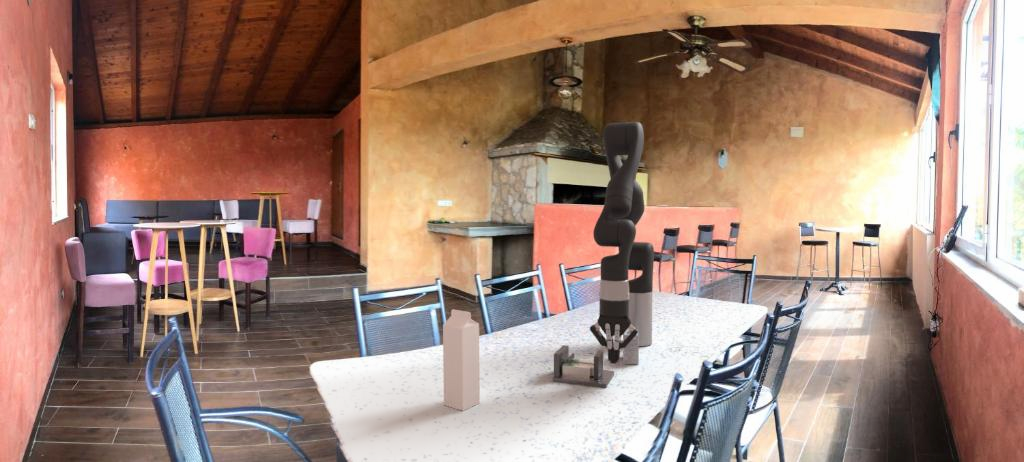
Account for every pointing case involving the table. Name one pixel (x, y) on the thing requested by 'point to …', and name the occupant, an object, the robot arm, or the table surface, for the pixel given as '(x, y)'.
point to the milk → (461, 361)
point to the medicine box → (631, 350)
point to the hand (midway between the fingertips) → (613, 362)
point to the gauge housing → (577, 371)
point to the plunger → (596, 368)
